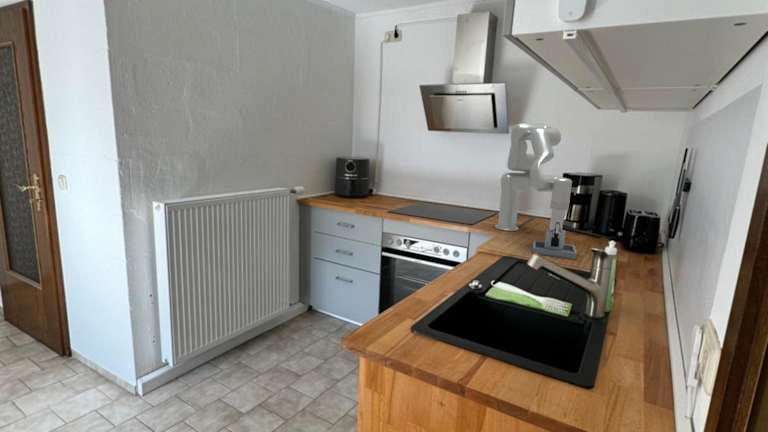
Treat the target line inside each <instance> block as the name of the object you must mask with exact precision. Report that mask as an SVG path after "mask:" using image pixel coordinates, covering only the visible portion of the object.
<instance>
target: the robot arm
mask: <svg viewBox="0 0 768 432" xmlns="http://www.w3.org/2000/svg"><path fill="white" fill-rule="evenodd" d="M561 140H562V135H561V132H560V131H559V130H558V129H557V128H555V127H553V126H551V125H548V124H544V123H543V124H542V123H527V122H525V123H524V122H523V123H517V124H515V125H514V126H513V127H512V128H511V132H510V149H509V152H508V153H509V154H508V157H507V164H506V165H507V169H508V170H509V171H513V172H505V173H504V174H502V175H501V177H500V190H501V191H500V203H499V204H500V206H499V214H498V222H497V224H495V226H494V228H495V229H496V230H500V231H504V232H505V231H506V232H515V231H516V232H517V231H519V226H517V219H518V211H519V210H518V208H519V199H520V198H519V195H518V193H517V191H529V190H530V189H532V187H533V188H534V190H535V191H537V192H542V193H543V192H544V193H546V192H549V193H550V192H551V198H550V206H549V208H550V209H551V215H550V220H549V221H550V222H549V229H550V231H552V230H553V237H552V239H551V246H554V247H558V246H559V235H560V232H561V231H562V230H563V228H564V227H563V225H564V221H565V214H566V211H569V207H570V200H571V193H572V184H573V181H572V179H571V178H567V177H563V176H560V175H550V174H549V175H547V174H546V175H545V174H544V175H543V174H542V171H541V165H543V164H546V163H549V162H550V161H552V160H553V159H554V158H555V152H554V149H553V147H556V146H558V145H559V144H560V143H561ZM527 141H530V143H531V146H532V150H533V153H527V150H528V143H527ZM554 230H556V231H554ZM554 232H555V233H554Z"/></svg>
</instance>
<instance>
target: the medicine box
mask: <svg viewBox="0 0 768 432" xmlns="http://www.w3.org/2000/svg"><path fill="white" fill-rule="evenodd" d="M554 231H556V230H554ZM554 233H555V232H554ZM552 237H553V230H552V231H550V227H548V228H546V233H545V238H544V239H545V240H544V242H545V247H544V248H547V249H554V250H561V251H563V247H564V244H565V238H566V230H563V229H562V231H561V232H560V235H559V246H558V247H554V246H551V239H552Z"/></svg>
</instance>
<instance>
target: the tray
mask: <svg viewBox="0 0 768 432" xmlns="http://www.w3.org/2000/svg"><path fill="white" fill-rule="evenodd" d="M544 247H545V241H539V240H533V241H532V254H533V253H538V254H541V255H540V256H546V257H550V258H551V257H553V258H561V259H567V260H577V257H578V252H577V249H576V247H575V245H573V244H565V243H564V247H563V251H561V250H554V249H547V248H544Z"/></svg>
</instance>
